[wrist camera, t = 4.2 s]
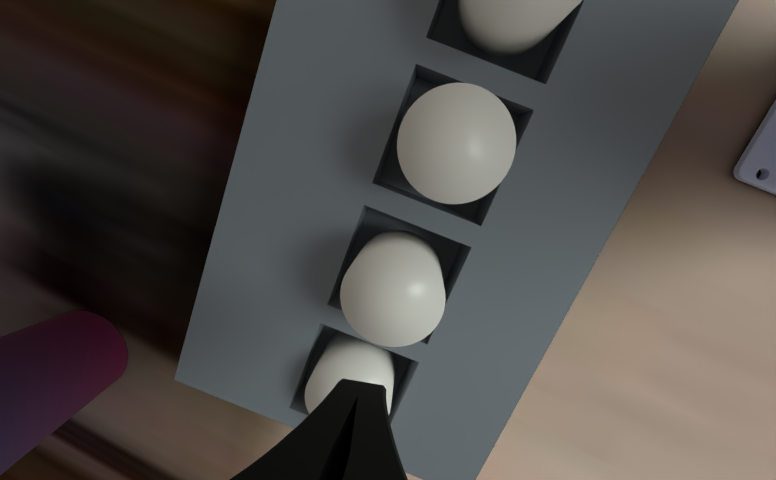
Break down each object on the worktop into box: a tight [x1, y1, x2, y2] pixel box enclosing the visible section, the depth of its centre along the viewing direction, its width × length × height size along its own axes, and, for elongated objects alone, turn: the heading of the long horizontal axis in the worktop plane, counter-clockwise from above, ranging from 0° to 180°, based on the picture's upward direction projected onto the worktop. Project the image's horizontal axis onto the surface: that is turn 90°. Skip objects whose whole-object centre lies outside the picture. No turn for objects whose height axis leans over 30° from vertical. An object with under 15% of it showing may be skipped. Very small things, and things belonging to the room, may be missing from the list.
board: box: [174, 0, 739, 480], centre depth 17 cm, size 16×25×3 cm, turn 159°
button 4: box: [305, 331, 396, 415], centre depth 18 cm, size 4×4×3 cm
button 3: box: [340, 230, 446, 347], centre depth 15 cm, size 4×4×3 cm
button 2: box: [397, 83, 516, 204], centre depth 14 cm, size 4×4×3 cm
